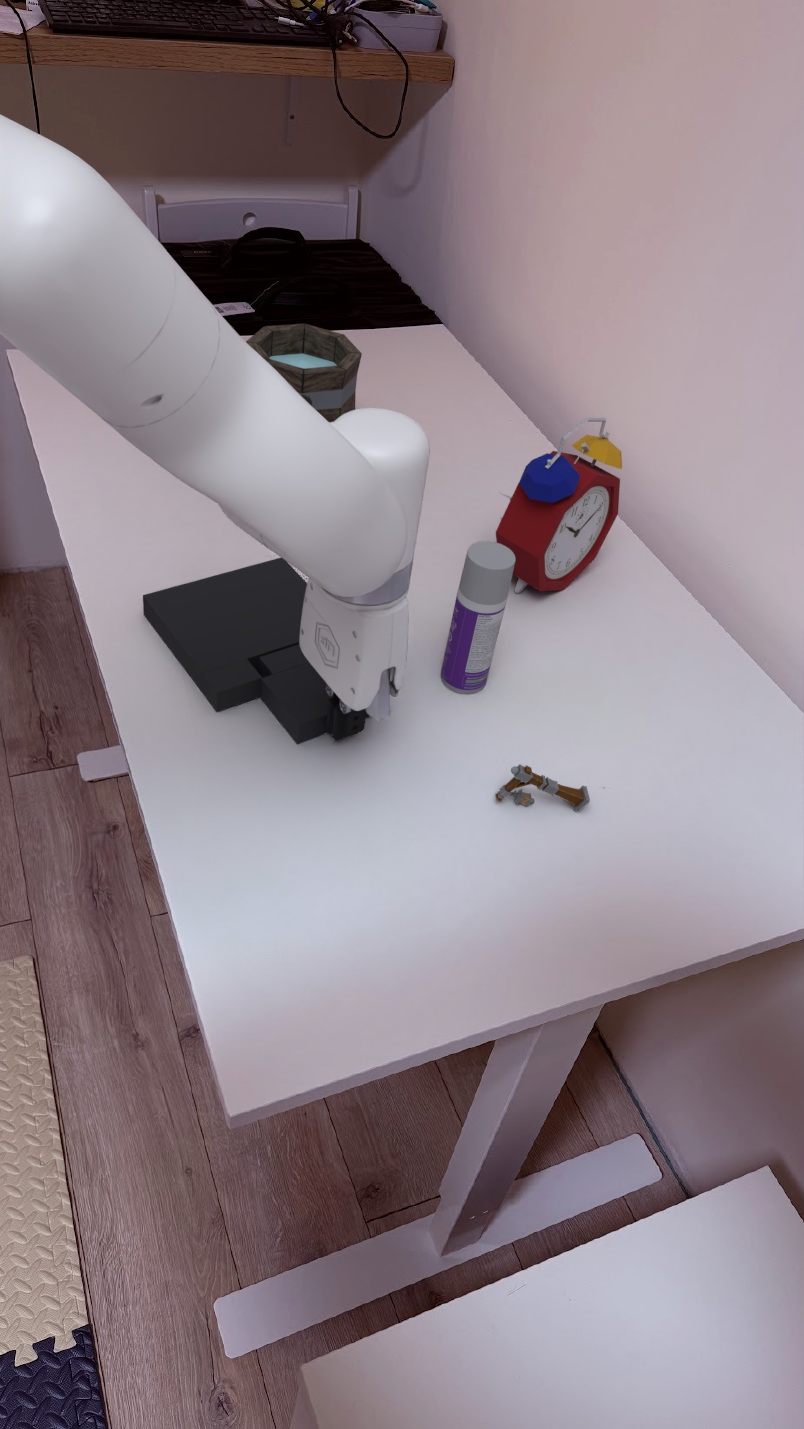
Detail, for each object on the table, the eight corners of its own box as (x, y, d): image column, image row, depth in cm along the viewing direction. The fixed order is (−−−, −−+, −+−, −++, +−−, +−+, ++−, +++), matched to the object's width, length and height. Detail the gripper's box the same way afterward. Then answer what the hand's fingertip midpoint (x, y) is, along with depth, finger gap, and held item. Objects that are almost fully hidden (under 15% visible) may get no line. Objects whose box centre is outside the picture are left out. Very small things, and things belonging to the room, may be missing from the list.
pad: (297, 744, 92) (298, 725, 90) (246, 680, 97) (246, 660, 96) (370, 717, 96) (373, 697, 94) (317, 656, 101) (319, 637, 100)
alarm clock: (525, 615, 111) (569, 451, 97) (466, 577, 115) (500, 413, 101) (602, 568, 119) (652, 411, 106) (545, 534, 123) (586, 378, 110)
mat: (216, 712, 94) (216, 692, 92) (143, 614, 102) (142, 594, 101) (361, 662, 101) (363, 643, 100) (281, 575, 110) (282, 556, 108)
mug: (245, 431, 132) (248, 317, 121) (348, 440, 133) (360, 329, 123) (236, 514, 118) (238, 393, 107) (352, 523, 119) (365, 405, 109)
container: (432, 667, 102) (457, 544, 92) (472, 659, 104) (501, 537, 94) (453, 698, 99) (481, 573, 89) (494, 688, 101) (526, 565, 91)
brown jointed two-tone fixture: (486, 786, 90) (515, 755, 87) (557, 813, 93) (588, 784, 91) (488, 801, 89) (518, 770, 86) (560, 828, 92) (591, 799, 89)
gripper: (276, 528, 82) (269, 693, 95) (374, 635, 74) (352, 800, 86) (354, 508, 86) (337, 669, 98) (457, 608, 77) (424, 771, 90)
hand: (344, 730), depth 92 cm, fingers closed
